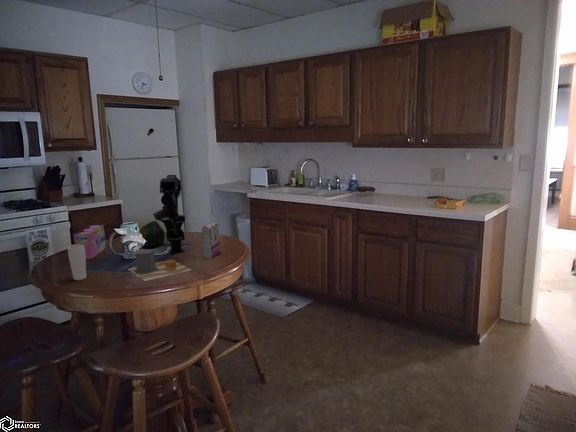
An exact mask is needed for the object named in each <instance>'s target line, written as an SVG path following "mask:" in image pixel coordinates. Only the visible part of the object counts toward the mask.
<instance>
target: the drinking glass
mask: <svg viewBox="0 0 576 432" xmlns="http://www.w3.org/2000/svg"><path fill="white" fill-rule="evenodd" d="M67 255H68V260H69V264H70V268H71V272H72V273H71V274H72V279H73V280H74V281H81V280H85V279H86V278H87V263H86V262H87V261H86V260H87V259H86V254H85V247H84V245H83V244H76V245H75V244H71V245H69V246H67Z"/></svg>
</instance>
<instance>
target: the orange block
mask: <svg viewBox="0 0 576 432" xmlns="http://www.w3.org/2000/svg"><path fill="white" fill-rule="evenodd" d="M165 261H166V262H165V269H166V271H175V269H176V262H177V260H176V259H167V260H165Z"/></svg>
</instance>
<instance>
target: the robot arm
mask: <svg viewBox="0 0 576 432" xmlns="http://www.w3.org/2000/svg"><path fill="white" fill-rule="evenodd" d="M181 192H182V180H180V179H179V178H178V177H177V175H176V174H167V175H166V177H165V178H164V177H163V178H161V179H160V180H159V194H162V196H161V199H160V202H161V204H162V208H161V209H160V210H157V211H156V212H154V213H152V215H153V217H154V219H155V221H157V222H158V221H159V222H161V223H163V225H164V228H165V232H166V233H165V237H166V242H169V244H170V249H169V250H168V252H170V253H172V254H177V253H183V252H185V249H183V248H182V241H185V240H186V237H185V231H184V230H183V228H182V226H183V224H184V223H185V221H186V216H185V215H182V214H179V198H180V196H181Z"/></svg>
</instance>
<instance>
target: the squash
mask: <svg viewBox="0 0 576 432" xmlns="http://www.w3.org/2000/svg"><path fill="white" fill-rule="evenodd" d="M139 231H140V233H141V234H142V236H143V238H144V239H145V240H146V241H147V242H146V243H145V245H144V246H145V247H144V248H149V247H154V246H155V247H158V246H161V245H163V244H164V242H165V239H166V233H165V230H164V229H163V228H162V225H160V224H159V223H158V221H157V220H153V221H150V222H149V223H146V224H145V225H143V226H142V227H140V229H139Z"/></svg>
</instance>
